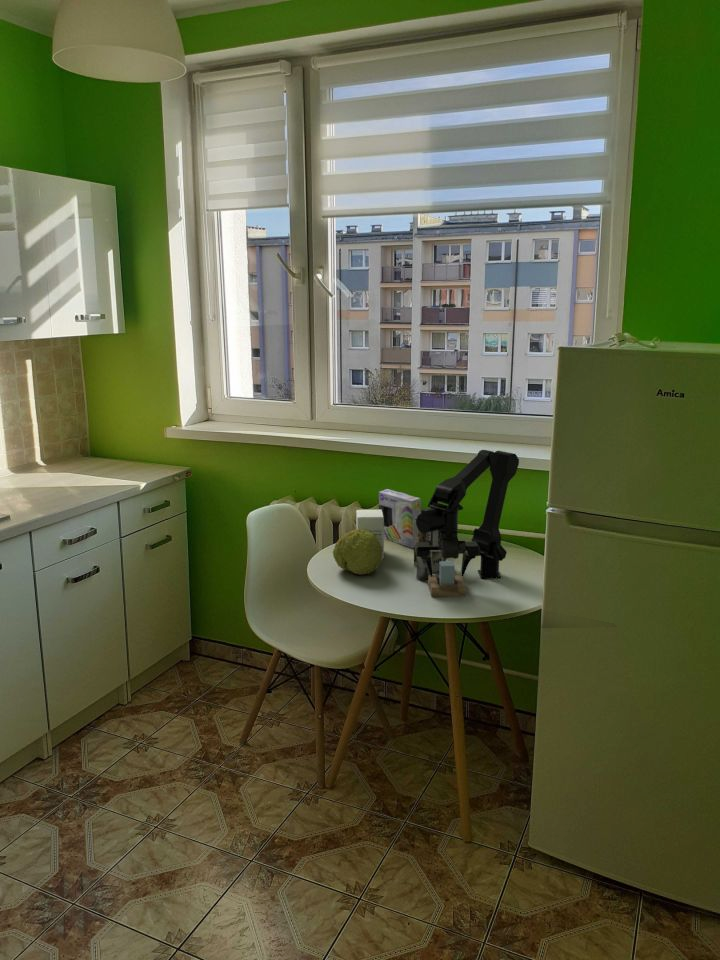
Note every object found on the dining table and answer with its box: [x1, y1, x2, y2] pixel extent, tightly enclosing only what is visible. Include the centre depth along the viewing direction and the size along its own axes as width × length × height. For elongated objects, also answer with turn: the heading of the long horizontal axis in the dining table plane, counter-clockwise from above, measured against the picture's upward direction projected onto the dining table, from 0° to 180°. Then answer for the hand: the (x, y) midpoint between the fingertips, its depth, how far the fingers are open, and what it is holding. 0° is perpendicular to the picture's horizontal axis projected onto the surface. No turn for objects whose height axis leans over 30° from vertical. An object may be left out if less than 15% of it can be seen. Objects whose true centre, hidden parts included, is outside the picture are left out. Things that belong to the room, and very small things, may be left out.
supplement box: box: [355, 509, 385, 560], centre depth 260 cm, size 9×9×15 cm
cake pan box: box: [377, 488, 422, 549], centre depth 273 cm, size 19×5×18 cm, turn 38°
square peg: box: [438, 560, 456, 585], centre depth 230 cm, size 4×4×8 cm
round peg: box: [416, 557, 430, 582], centre depth 240 cm, size 4×4×8 cm
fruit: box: [332, 528, 383, 576], centre depth 245 cm, size 16×14×15 cm
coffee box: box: [413, 518, 447, 573], centre depth 248 cm, size 9×6×16 cm
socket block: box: [427, 574, 467, 598], centre depth 231 cm, size 10×10×3 cm
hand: (446, 576), depth 230 cm, fingers open, 9 cm apart
